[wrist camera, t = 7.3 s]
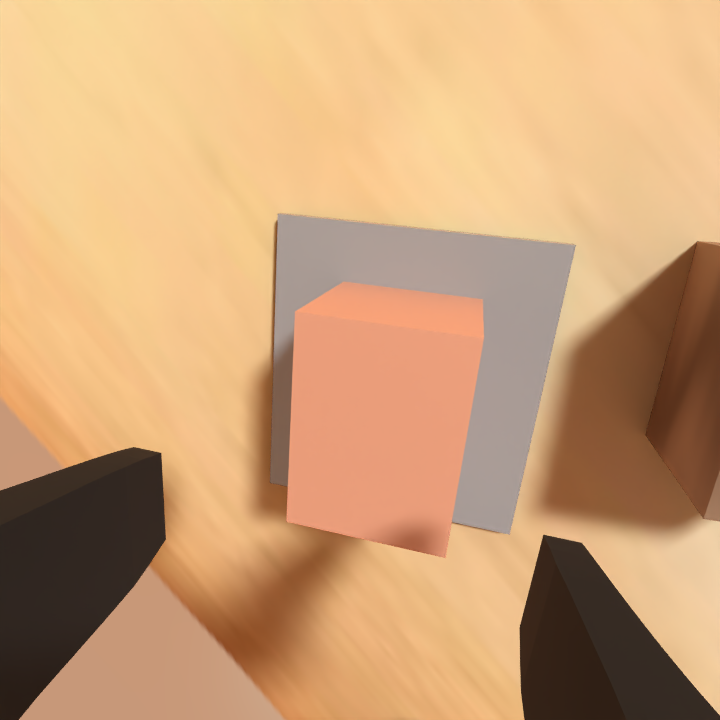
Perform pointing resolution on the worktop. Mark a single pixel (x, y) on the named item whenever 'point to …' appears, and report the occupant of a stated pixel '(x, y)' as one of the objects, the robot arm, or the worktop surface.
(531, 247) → the baseplate
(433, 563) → the worktop surface
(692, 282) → the walnut block
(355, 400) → the terracotta block
